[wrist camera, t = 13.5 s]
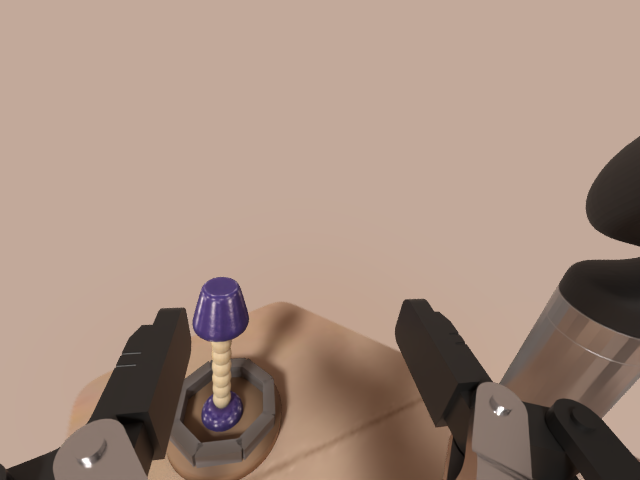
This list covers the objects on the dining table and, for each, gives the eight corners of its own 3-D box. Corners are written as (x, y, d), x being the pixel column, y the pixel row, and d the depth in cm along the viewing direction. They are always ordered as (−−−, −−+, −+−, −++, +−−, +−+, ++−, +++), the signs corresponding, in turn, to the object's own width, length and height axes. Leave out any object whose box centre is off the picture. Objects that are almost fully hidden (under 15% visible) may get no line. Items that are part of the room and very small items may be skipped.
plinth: (277, 370, 40) (278, 350, 38) (284, 476, 30) (285, 455, 28) (179, 378, 37) (175, 357, 36) (149, 496, 27) (142, 474, 25)
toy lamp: (231, 383, 35) (225, 263, 27) (257, 409, 33) (260, 286, 25) (193, 413, 32) (174, 285, 24) (220, 445, 30) (209, 314, 22)
